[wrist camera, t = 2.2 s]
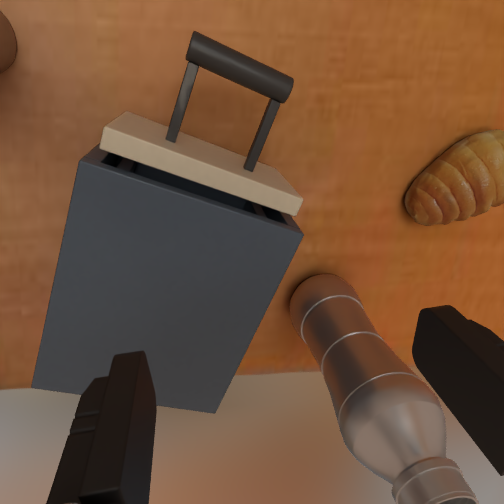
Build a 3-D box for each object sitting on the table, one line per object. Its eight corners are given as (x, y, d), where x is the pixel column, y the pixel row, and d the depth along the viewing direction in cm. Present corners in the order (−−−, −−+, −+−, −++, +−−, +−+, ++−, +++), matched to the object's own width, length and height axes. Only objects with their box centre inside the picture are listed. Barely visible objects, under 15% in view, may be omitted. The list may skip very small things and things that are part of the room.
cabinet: (113, 130, 26) (78, 159, 17) (271, 188, 30) (304, 234, 21) (71, 305, 31) (30, 388, 23) (208, 334, 35) (215, 414, 27)
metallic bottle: (276, 319, 36) (364, 559, 18) (294, 260, 33) (418, 477, 16) (334, 324, 37) (466, 549, 20) (356, 268, 35) (532, 473, 17)
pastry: (414, 236, 34) (438, 254, 31) (390, 178, 31) (414, 191, 28) (504, 182, 33) (540, 194, 30) (489, 116, 30) (527, 122, 26)
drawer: (149, 16, 22) (133, -5, 16) (309, 92, 26) (351, 101, 19) (82, 284, 30) (53, 345, 23) (213, 314, 33) (220, 375, 27)
